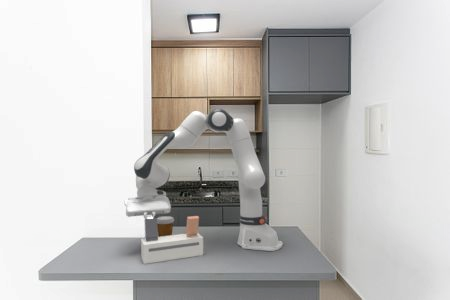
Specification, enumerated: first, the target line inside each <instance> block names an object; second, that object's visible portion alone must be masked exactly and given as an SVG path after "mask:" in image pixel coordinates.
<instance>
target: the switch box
mask: <svg viewBox="0 0 450 300" xmlns="http://www.w3.org/2000/svg"><path fill="white" fill-rule="evenodd" d="M140 239H141V241H140V243H141V244H140V245H141V247H140V248H141V249H140V250H141V251H140V253H141V255H140V256H141V260H142V262H143V264H144V265H147V264H152V263H153V264H154V263H160V262H166V261H173V260H180V259H185V258H192V257H199V256H200V257H201V256H204V237H203V236H202V235H201V234H200V233H199V232H198V233H197V235H191V236H186V233H179V234H172V235H170V236H162V237H158V240H150V241H146V237H145V238H140Z"/></svg>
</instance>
